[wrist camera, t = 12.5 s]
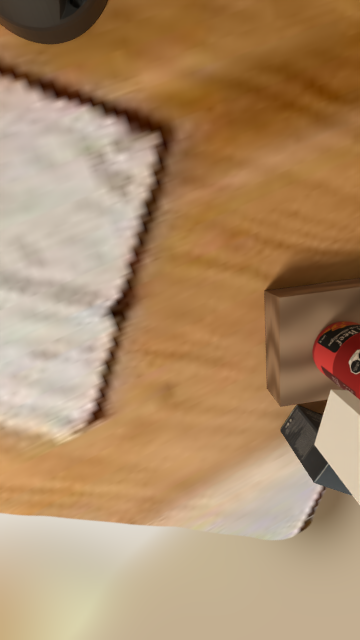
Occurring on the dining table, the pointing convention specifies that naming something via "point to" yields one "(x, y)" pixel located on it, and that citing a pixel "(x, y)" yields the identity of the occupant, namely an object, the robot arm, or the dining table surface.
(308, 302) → the brown wooden block
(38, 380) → the dining table surface
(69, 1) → the robot arm
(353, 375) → the canned food
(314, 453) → the box
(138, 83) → the dining table surface
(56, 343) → the dining table surface
